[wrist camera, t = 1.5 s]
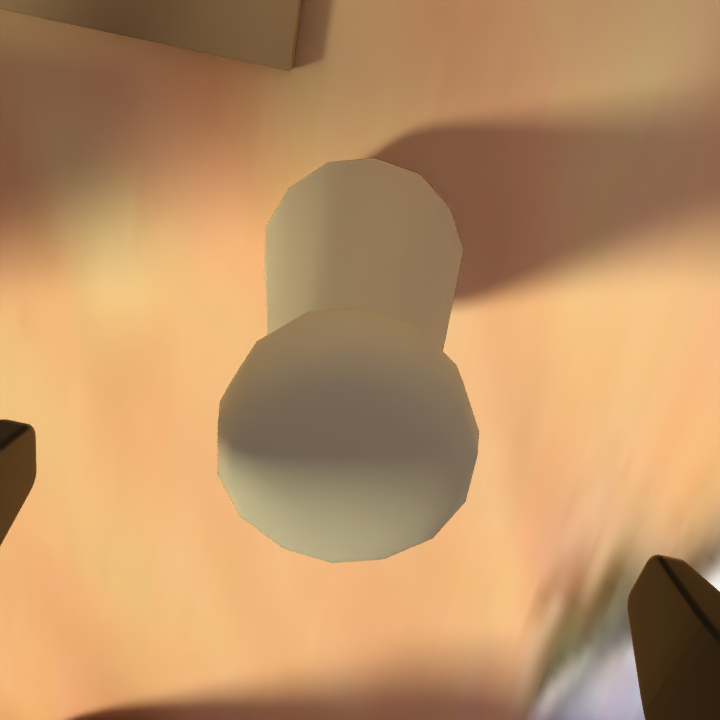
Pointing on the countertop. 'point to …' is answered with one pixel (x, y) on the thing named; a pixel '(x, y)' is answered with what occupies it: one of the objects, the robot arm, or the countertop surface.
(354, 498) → the salt shaker
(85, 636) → the countertop surface
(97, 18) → the picture frame
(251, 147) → the countertop surface
